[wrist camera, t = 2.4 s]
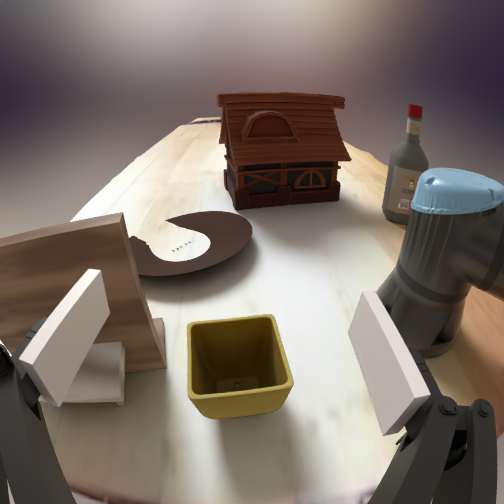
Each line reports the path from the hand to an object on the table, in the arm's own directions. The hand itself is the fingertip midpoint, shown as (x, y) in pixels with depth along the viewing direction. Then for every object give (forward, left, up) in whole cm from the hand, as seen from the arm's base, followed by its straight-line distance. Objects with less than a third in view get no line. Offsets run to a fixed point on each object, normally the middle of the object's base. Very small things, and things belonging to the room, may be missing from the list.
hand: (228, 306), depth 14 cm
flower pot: (+4, -4, -20) cm, 21 cm away
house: (+37, -58, -20) cm, 71 cm away
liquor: (+4, -66, -20) cm, 69 cm away
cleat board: (+20, +8, -20) cm, 29 cm away
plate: (+35, -21, -20) cm, 45 cm away
